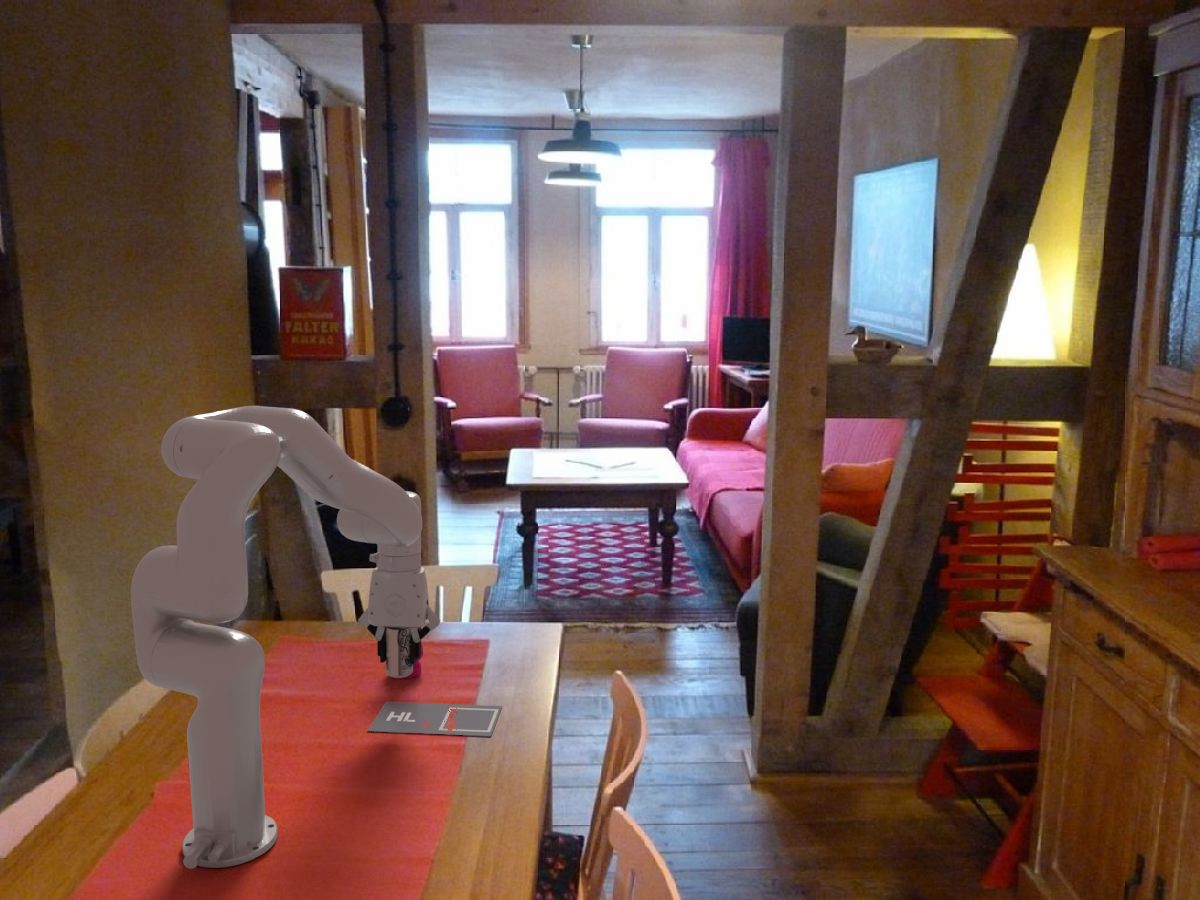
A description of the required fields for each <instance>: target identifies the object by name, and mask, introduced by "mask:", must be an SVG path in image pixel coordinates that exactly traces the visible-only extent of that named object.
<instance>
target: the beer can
mask: <svg viewBox="0 0 1200 900" xmlns="http://www.w3.org/2000/svg"><path fill="white" fill-rule="evenodd" d="M412 638H413V637H412V634H411V630H410V628H397V627H386V661H385V674H386V675H387V676H389V677H390V678H395V679H398V678H404V677H407V676H408V675H410V674H411V673H412V672H413V664H411V663H410V643H411V642H412Z"/></svg>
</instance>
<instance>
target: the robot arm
mask: <svg viewBox="0 0 1200 900" xmlns="http://www.w3.org/2000/svg"><path fill="white" fill-rule="evenodd" d="M160 445H161V446H160V448H161V449H160V450H161V451H160V452H161V458H162V460H163V462H164V464H165V465H166V467H167V468H168V469H169V471H171V472H172V473H174V474H176V475H177V476H179V477H182V478H185V479H191V480H197V481H196V482H195V483H194V485H193V486H192V487H191V489H189V491H188V493H187V494H186V496H185V497H184V499H183V500H182V503H181V504H180V506H179V510H178V513H177V515H176V516H177V518H176V545H162V546H157V547H155V548H153V549H151V550H149V551H148V552H147V553H146V554H144V556H143V557H142V558H141V559H140V561H139V562H138V564H137V565H136V568H135V570H134V572H133V576H132V579H131V585H130V604H131V613H132V614H131V615H132V625H133V635H134V636H133V637H134V646H135V654H136V655H135V656H136V661H137V665H138V669H139V671H140V673H141V676H142V677H143V678H144V679H145V680H146V681H147V682H148V683H150V684H151V685H153V686H154V687H155V686H156V687H158V688H162V689H166V690H170V691H174V692H179V693H183V694H187V695H189V696H194V697H196V699H197V706H196V707H195V708H196V709H194V712H193V714H192V715H191V717H190V719H189V721H188V723H187V729H186V738H187V739H186V743H187V757H188V766H189V767H188V768H189V782H190V785H189V787H190V800H191V813H192V829H190V831H188V832H187V834H185V837H184V839H183V840H182V845H181V846H182V854H183V856H184V858H183V859H182V861H183V865H184V867H185V868H187V869H190V870H192V869H195V868H196V867H197V866H199V867H203V868H213V869H214V868H215V869H219V868H229V867H233V866H234V867H235V866H238V865H242V864H245V863H247V862H250V861H253V860H255V859H256V858H258V857H260V856H262V855H264V854H265V853H266V852H267V851H269V850H270V849H271V848H272V847H273V845H274V844H275V843H276V842H277V839H278V825H277V823H276V821H275V820H274V818H272V817H271V816H268V815H266V805H265V803H266V801H265V789H264V788H265V785H264V769H263V768H264V766H263V752H262V751H263V750H262V749H263V747H262V733H261V732H262V731H261V730H262V729H261V693H262V685H263V679H264V674H265V667H266V666H265V665H266V657H265V652H264V649H263V647H262V646H261V644H260V642H258V640H257V639H255V638H254V636H252V635H250V634H248V633H246V632H244V631H241V630H237V629H233V628H228V627H223V626H219V625H213V624H222V623H229V622H232V621H233V620H236V619H237V618H239V617H240V616H241V615H242V614H243V612H244V611H245V609H246V607H247V604H248V598H249V580H248V579H249V575H248V561H247V558H248V557H247V548H246V546H247V545H246V544H247V543H246V519H247V513H248V510H249V507H250V505H251V503H252V501H253V500H254V498H255V496H256V495H257V493H258V492H259V490H260V489H261V488H262V486H263V485H264V484H265V483H266V482H267V480H268V479H269V478H270V477H271V476H272V475H273V473H274V472H275V470H276V469H277V467H278V468H279V469H281V471H282V472H283V473H285V474H286V475H287V476H288V477H289V478H290V479H291V480H292V481H294V483H295V484H297V485H298V486H299V487H300V488H301V489H302V490H303V491H304V492H305V493H306V494H307V495H308V496H309V497H310V498H312V499H313V500H314V501H316V502H320V503H322V504H324V505H326V506H330V507H331V508H334V509H338V510H339V511H337V512H338V513H337V515H336V516H337V517H336V525H337V529H338V531H339V532H340V534H341V535H342V536H344V537H345V538H346V539H348V540H351V541H354V542H359V543H366V544H377V552H376V553H370V554H369V558H368V559H369V562H373V563H375V564H376V567H375V568H374V569H372V573H371V577H370V584H369V591H368V592H369V594H368V605H367V606H368V607H367V608H366V609H364V612H363V613H362V614H361V616H360V617H359V618H358V623H359V624H360V625H362V626H363V627H365V629H367V630H368V631H369V632H370V634H371V635H373V637H374V639H375V641H377V643H376V645H377V648H376V649H377V653H376V655H377V657H379V662H380V664H381V663H382V664H384V663H386V627H397V628H410V630H411V634H412V637H413V638H412V642H411V643H410V663H411V664H415V663H416V661H417V660H418V658H420V657H421V643H422V640H423V639H424V638H425V636H427V635H428V634H429V633H430V632H432V631H433V630H435V629H436V628H437V627H439V625H440V624H441V619H439V617H438V616H437V615H436V613H435V612H434V611H433V609H432V608H431V607H430V597H429V587H428V581H427V574H426V570H425V568H424V567H422V530H423V523H424V522H423V517H422V516H423V515H422V500H421V498H420V496H419V494H418V493H416V492H413V491H408V490H405V489H404V488H403V487H401V486H400V485H399V484H398V483H396V482H395V481H393V480H391V479H390V478H388V477H386V476H385V475H382V474H381V473H378V472H376V471H375V470H373V469H371V468H370V467H369V466H366V465H364V464H362V463H361V462H358V461H357V460H355V459H352V458H351V457H350V456H349V455H348V454H347V453H346V452H345V450H344V449H342V448H341V446H339V444H338V443H337V442H336V441H335V440H334V439H333V438H332V437H331V436H330V435H329V434H328V433H327V432H326V430H325V429H324V428H323V427H322V426H321V425H320V424H319V422H317V420H315V419H314V418H313V417H312V416H311V415H310V414H308V413H306V412H304V411H303V410H299V409H296V408H288V407H275V406H263V405H247V406H246V405H245V406H239V407H233V408H228V409H223V410H222V409H221V410H217V411H212V412H208V413H201V414H197V415H196V414H195V415H192V416H191V415H190V416H186V417H183V418H181V419H179V420H177V421H176V422H175V423H173V424H172V425H170V427H168V429H167V430H166V432H165V434H164V435H163V438H162V441H161V444H160ZM427 620H428V621H429V622H428V623H427V624H425V623H426V621H427ZM195 621H196V622H195ZM200 622H202V623H200ZM207 623H209V624H207ZM211 623H212V624H211ZM424 624H425V625H424ZM422 626H423V627H422Z"/></svg>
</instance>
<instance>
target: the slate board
mask: <svg viewBox="0 0 1200 900" xmlns="http://www.w3.org/2000/svg"><path fill="white" fill-rule="evenodd" d="M456 708H457V709H456ZM450 709H456V710H457V711H456V712H457V713H458V715H457V714H456V713H454V712H453V711H451V710H450ZM458 709H459V710H460V711H459V710H458ZM502 709H503V706H501V705H481V704H478V705H477V704H458V703H457V704H453V703H451V704H450V703H435V702H434V703H433V702H432V703H431V702H430V703H428V702H407V701H406V702H405V701H402V702H401V701H385V703H384V704H383V706H382V708H380V710H379V712H378V713H379V714H378V713H377V715H378V716H377V715H376V716H375V718H374V720H373V721H372V722H371V724H370V726H369V727H368V729H369V730H368V729H367V730H366V731H372V732H371V733H381V732H388V733H387V734H405V733H423V732H425V733H426V734H425V733H424V734H423V735H429V734H450V735H449V736H453V735H463V736H462V737H481V738H484V737H485V738H491V737H492V735H493V732H494V730H495V727H496V726H497V725H496V724H497V721H498V720H499V717H500V714H501V711H502ZM381 710H382V711H381ZM384 710H385V711H384ZM386 710H387V711H386ZM448 710H449V711H450V712H452V713H453V714H454V715H453V719H454V720H455V722H457V724H456V726H455V727H453V729H452V731H453V732H454V733H453V732H451V731H450V730H449V731H448V729H447V728H445V727H444V726H446V725H448V726H450V725H449V724H447V723H448V721H447V720H449V719H448V717H449V716H450V715H449V714H450V712H449V711H448ZM464 710H465V711H466V712H467V713H466V712H465V711H464ZM446 711H447V712H446ZM456 716H457V717H456ZM449 718H450V717H449ZM450 719H451V718H450ZM453 719H452V720H453ZM422 720H423V721H422ZM454 720H453V721H454ZM420 721H421V722H420ZM424 721H425V722H426V723H428V722H430V724H429V723H428V724H429V727H426V726H425V725H427V724H426V723H425V722H424ZM444 721H445V722H444ZM449 721H450V722H452V721H451V720H449ZM446 722H447V723H446ZM423 723H424V724H425V725H424V724H423ZM452 723H453V722H452ZM463 723H464V724H463ZM445 724H446V725H445ZM454 724H455V723H454ZM465 724H466V725H465ZM422 725H423V726H425V727H426V728H424V727H423V726H422ZM451 725H452V724H451ZM462 725H463V726H462ZM420 726H421V727H422V728H421V727H420ZM427 726H428V725H427ZM448 726H446V727H448ZM453 726H454V725H453ZM434 727H435V728H434ZM438 727H439V728H438ZM451 727H452V726H451ZM457 727H458V728H457ZM436 728H437V729H436ZM448 728H449V727H448ZM450 729H451V728H450ZM456 729H457V730H456ZM431 730H432V731H431ZM373 731H374V732H373ZM429 731H430V732H429ZM443 731H444V732H443ZM447 731H448V732H447ZM455 731H456V732H455ZM441 732H442V733H441ZM445 732H446V733H445ZM449 732H451V733H449ZM452 734H453V735H452Z"/></svg>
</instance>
